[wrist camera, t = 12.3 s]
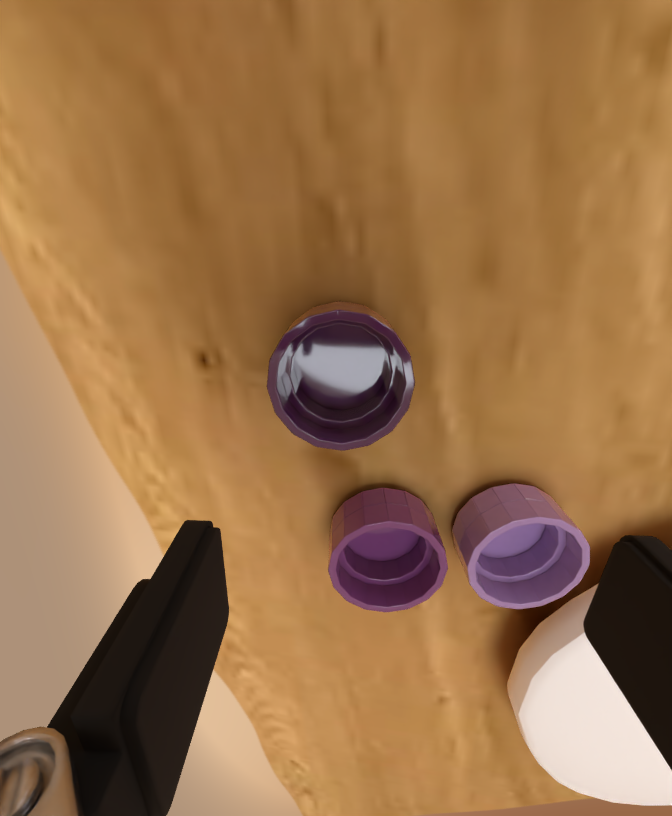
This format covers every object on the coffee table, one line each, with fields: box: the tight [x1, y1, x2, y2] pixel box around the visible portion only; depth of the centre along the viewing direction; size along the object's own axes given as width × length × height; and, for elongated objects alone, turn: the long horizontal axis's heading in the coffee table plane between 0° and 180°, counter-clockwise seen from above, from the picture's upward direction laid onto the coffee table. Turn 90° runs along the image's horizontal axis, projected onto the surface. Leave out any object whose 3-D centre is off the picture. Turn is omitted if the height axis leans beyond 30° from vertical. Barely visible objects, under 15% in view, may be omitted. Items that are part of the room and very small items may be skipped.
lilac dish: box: [452, 483, 590, 609], centre depth 23 cm, size 7×7×4 cm
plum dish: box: [328, 488, 448, 612], centre depth 24 cm, size 7×7×4 cm
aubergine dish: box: [267, 301, 415, 451], centre depth 19 cm, size 7×7×4 cm
